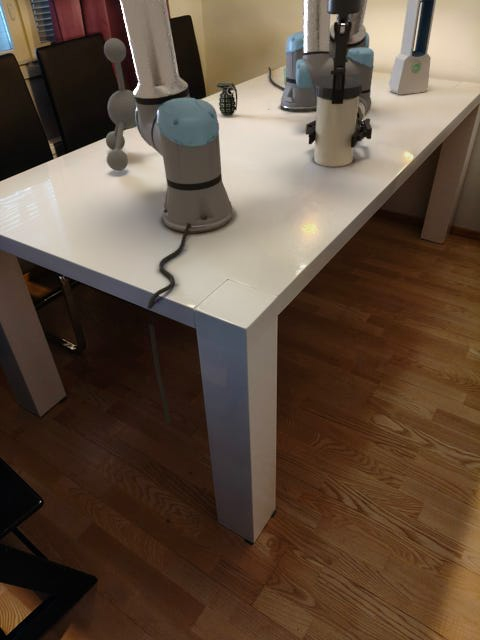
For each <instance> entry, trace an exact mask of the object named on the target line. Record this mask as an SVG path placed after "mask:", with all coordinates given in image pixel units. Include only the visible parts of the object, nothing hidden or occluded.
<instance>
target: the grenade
mask: <svg viewBox="0 0 480 640" xmlns="http://www.w3.org/2000/svg"><path fill="white" fill-rule="evenodd" d="M215 87H217V88H219V89H221V93H219V97H218V101H219V102H218V106H219V108H218V109H219V112H220V114H221V115H222V116H224V117H231V116H233V115H234V113H235V112H236V111H237V108H238V89H237V87H236V85H235V84H234V83H233V82H218V83H217V84H216V86H215ZM232 91H233V92H232ZM234 94H235V96H234Z"/></svg>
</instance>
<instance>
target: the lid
mask: <svg viewBox="0 0 480 640" xmlns="http://www.w3.org/2000/svg"><path fill="white" fill-rule="evenodd" d="M332 89H333V78H331V79H324V80H320V81H318V82H316V84H315V95H316V96H317V97H320V98H324V99H332ZM361 92H362V82H361V81H359V80H356V79H350V78H345V84H344V97H343V99H350V98H355V97H358V96H360V95H361Z"/></svg>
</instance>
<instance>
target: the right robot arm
mask: <svg viewBox="0 0 480 640" xmlns="http://www.w3.org/2000/svg"><path fill="white" fill-rule="evenodd" d="M327 1H328V0H302V30H301V31H297V32H295V33H292V34H290V35H289V36H288V37H287V40H286V47H285V48H286V49H285V54H286V59H285V68H286V81H285V85H284V87H283V86H281V85H279V84H278V83H276V82H275V81H274V80H273V79H272V69H271V67H270V66H268V78H269V81H270V82H271V84H273V85H274V86H275V87H277V88H279V89H281V90H283V93H282V95H281V99H280V108H281V109H282V110H284V111H288V112H294V113H295V112H296V113H304V112H305V113H306V112H307V113H308V112H314V111H316V107H317V96H316V95H315V84H316V82H318V81H320V80H324V79H331V78H333V75H331V71H334V65H335V52H336V45H335V44H334V35H335V33H334V23H333V24H331V14H329V13H328V12H327ZM367 4H368V0H361V10H360V12H358V13H355V14H349V15H348V16H349V20H348V22H351V23H352V25H351V32H350V37H349V44H348V45H347V51H346V58H348V62H346V65H345V68H346V72H345V78H350V79H356V80H359V81H361V82H362V92H361V95H360V96H359V100H358V110H357V121H356V131H355V133H354V134H353V136H352V140H351V148H354V149H355V147H356V145H357V143H358V142H362V141H363V140H364V139H365V138H366V139H367V140H371V139H372V136H373V135H372V134H373V127H372V125H371V119H370V118H365V117H366V116H367V115H368V114H369V111H370V110H371V107H372V98H371V88H372V80H373V79H372V78H373V72H374V63H375V62H374V61H375V52H374V50H373V49H372V48H370V34H369V33H368V32H367V29H366V26H364V21H365V15H366V11H367ZM337 18H338V14H336V17H335V22H338V20H337ZM315 129H316V119H315V120H313V121H310V122H308V123H306V125H305V134H306V135H308V145H312V144H314V143H315Z"/></svg>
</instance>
